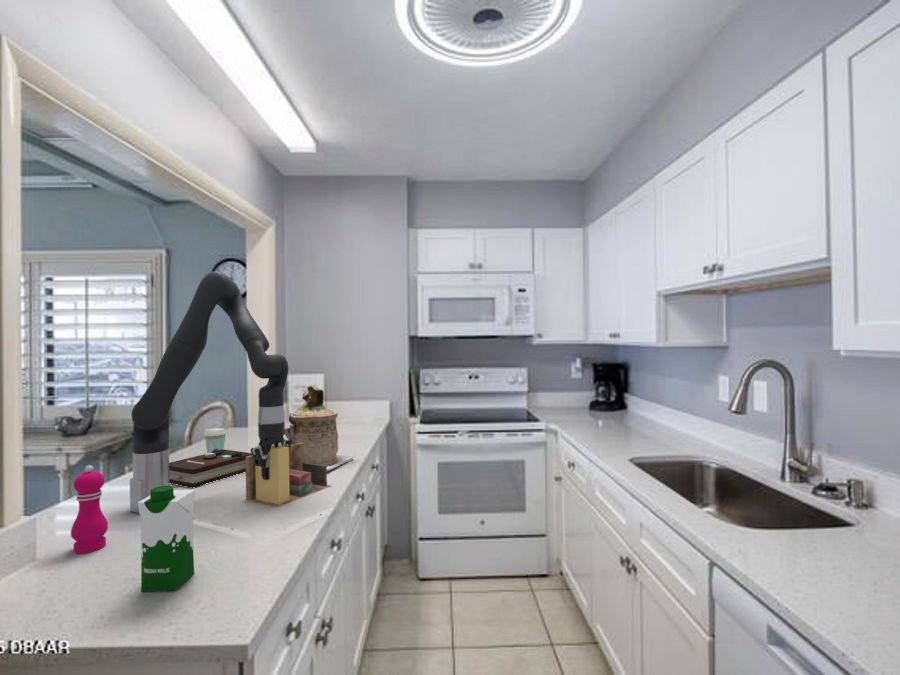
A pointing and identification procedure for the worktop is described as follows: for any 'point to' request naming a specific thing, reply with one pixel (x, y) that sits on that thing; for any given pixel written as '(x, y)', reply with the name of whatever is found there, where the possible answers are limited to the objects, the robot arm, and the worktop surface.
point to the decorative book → (207, 467)
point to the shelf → (292, 465)
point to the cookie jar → (316, 431)
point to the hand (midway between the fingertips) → (272, 477)
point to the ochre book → (274, 477)
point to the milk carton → (166, 539)
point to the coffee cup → (215, 439)
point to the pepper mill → (89, 513)
